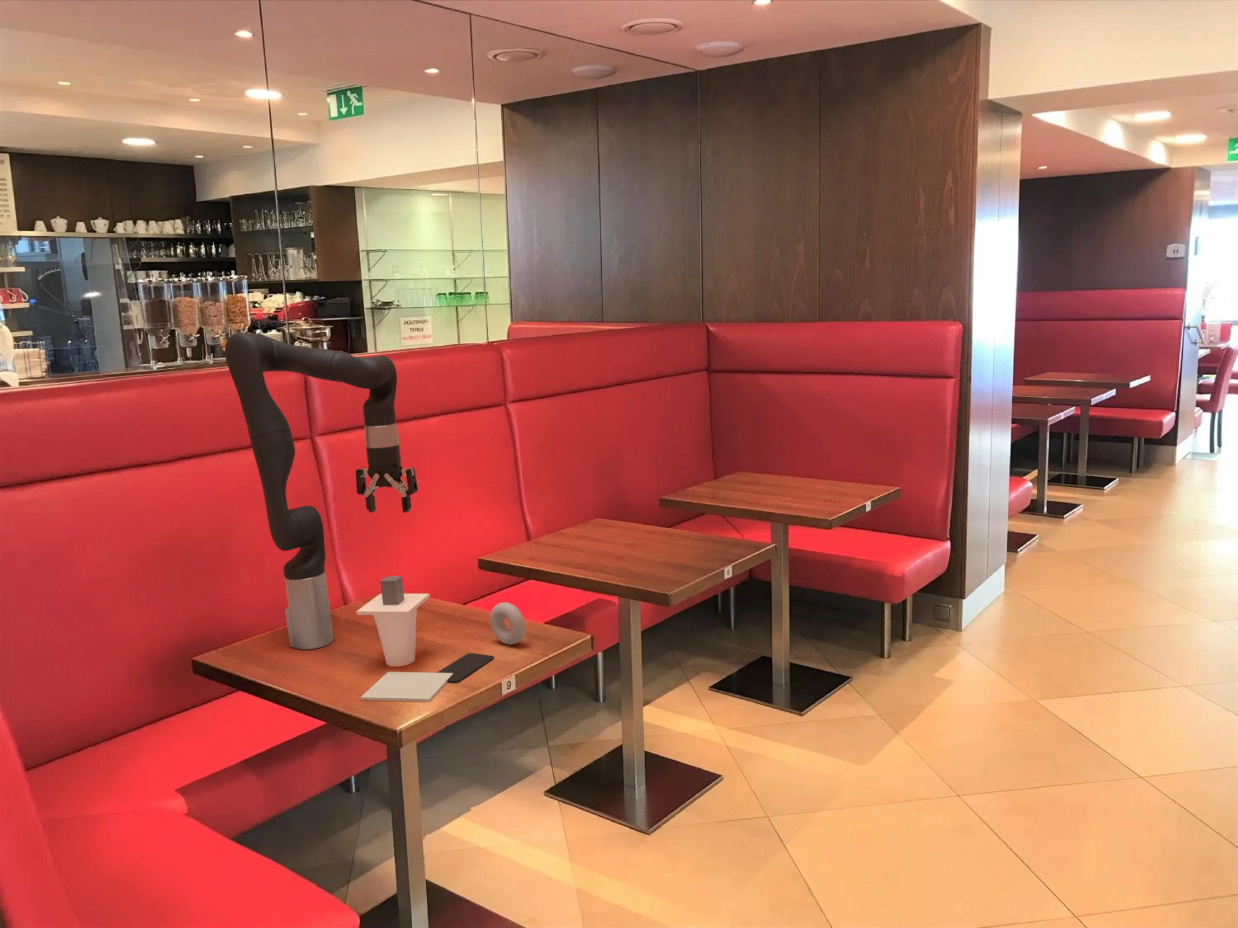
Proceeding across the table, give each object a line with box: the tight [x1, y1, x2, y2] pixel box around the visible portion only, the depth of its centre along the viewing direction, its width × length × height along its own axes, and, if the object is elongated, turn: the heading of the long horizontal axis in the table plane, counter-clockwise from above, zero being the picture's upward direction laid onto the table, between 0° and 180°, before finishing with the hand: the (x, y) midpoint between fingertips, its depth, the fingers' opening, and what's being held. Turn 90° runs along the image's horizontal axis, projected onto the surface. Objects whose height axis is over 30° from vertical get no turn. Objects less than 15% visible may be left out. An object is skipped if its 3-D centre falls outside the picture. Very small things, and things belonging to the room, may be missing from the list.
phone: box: [436, 652, 495, 684], centre depth 211 cm, size 7×1×15 cm
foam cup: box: [373, 608, 418, 668], centre depth 216 cm, size 10×9×13 cm
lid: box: [356, 575, 431, 616], centre depth 214 cm, size 12×12×6 cm
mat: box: [360, 671, 453, 703], centre depth 202 cm, size 15×13×1 cm
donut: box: [489, 602, 526, 646], centre depth 222 cm, size 10×4×10 cm, turn 52°
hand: (389, 511), depth 226 cm, fingers open, 8 cm apart
